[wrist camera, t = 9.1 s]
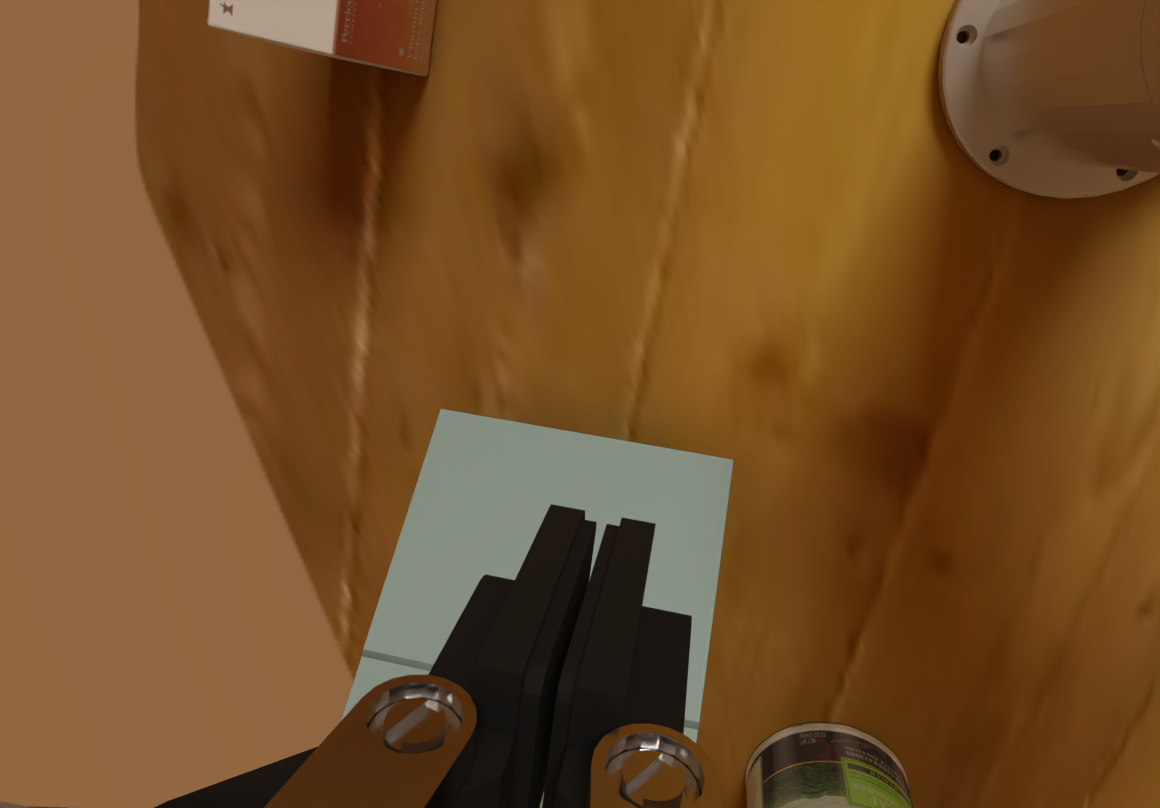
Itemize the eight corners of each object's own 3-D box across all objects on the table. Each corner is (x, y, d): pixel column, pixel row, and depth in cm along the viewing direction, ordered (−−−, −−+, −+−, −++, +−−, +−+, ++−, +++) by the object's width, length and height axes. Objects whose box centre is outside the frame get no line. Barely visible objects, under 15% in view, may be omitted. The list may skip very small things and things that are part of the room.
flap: (731, 465, 41) (733, 459, 41) (646, 1110, 29) (647, 1118, 29) (443, 415, 43) (440, 408, 43) (257, 999, 32) (248, 1004, 31)
